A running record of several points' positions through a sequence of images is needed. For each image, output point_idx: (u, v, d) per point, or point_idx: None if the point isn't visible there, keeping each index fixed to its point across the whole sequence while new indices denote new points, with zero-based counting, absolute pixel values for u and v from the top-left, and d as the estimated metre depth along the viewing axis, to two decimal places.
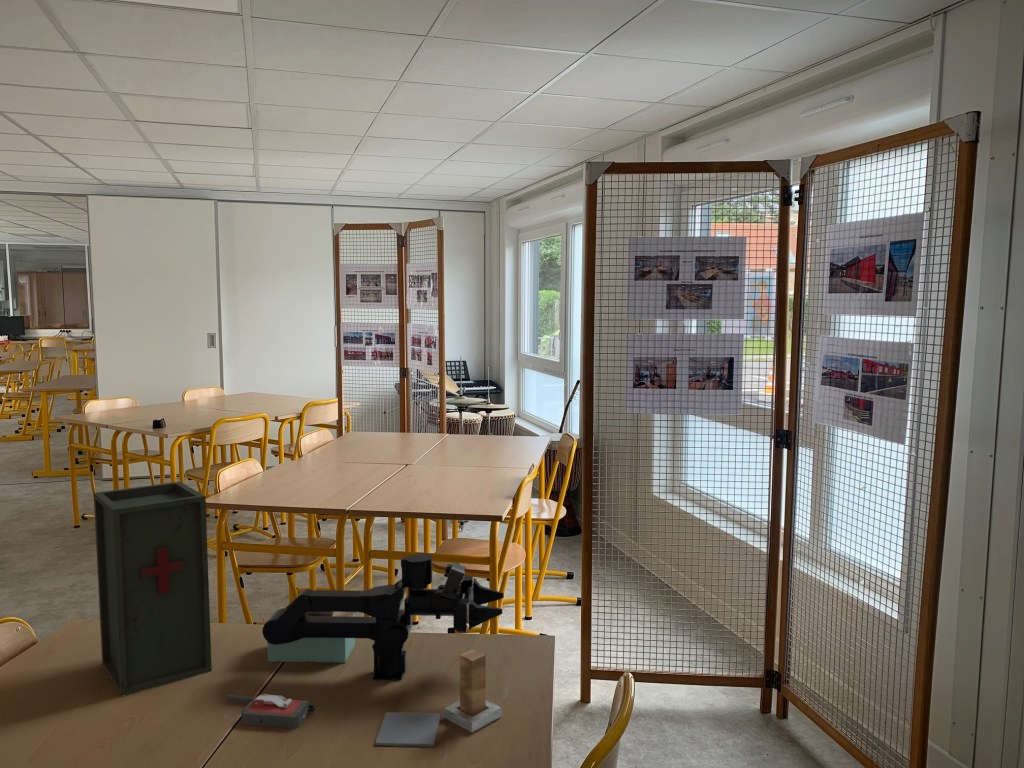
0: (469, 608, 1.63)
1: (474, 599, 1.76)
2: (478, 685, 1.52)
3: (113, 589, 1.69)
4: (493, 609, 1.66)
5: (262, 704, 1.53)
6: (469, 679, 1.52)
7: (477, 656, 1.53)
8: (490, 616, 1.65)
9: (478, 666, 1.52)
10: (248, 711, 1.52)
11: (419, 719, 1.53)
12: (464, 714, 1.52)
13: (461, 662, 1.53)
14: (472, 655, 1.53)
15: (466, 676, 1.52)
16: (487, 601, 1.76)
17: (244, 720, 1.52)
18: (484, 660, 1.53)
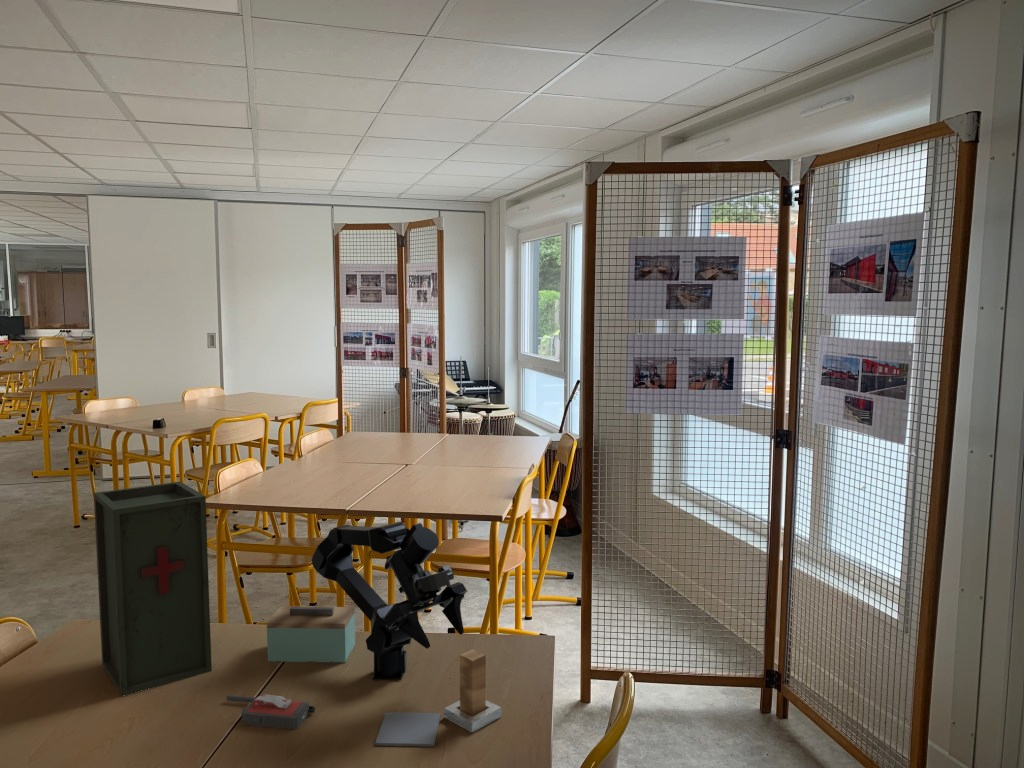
0: (404, 618, 1.55)
1: (446, 608, 1.66)
2: (478, 685, 1.52)
3: (113, 589, 1.69)
4: (423, 638, 1.55)
5: (262, 705, 1.53)
6: (469, 679, 1.52)
7: (477, 656, 1.53)
8: (418, 639, 1.56)
9: (478, 666, 1.52)
10: (248, 711, 1.52)
11: (419, 719, 1.53)
12: (464, 714, 1.52)
13: (461, 662, 1.53)
14: (472, 655, 1.53)
15: (466, 676, 1.52)
16: (450, 621, 1.64)
17: (244, 720, 1.52)
18: (484, 660, 1.53)
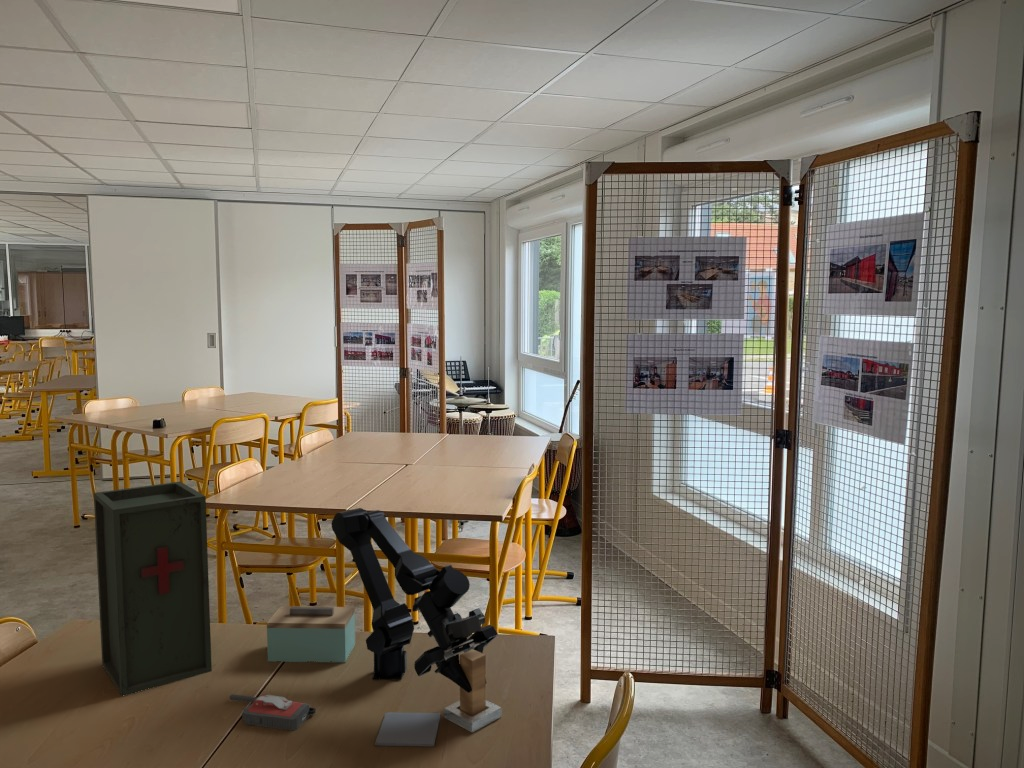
0: (445, 661, 1.51)
1: None
2: (478, 685, 1.52)
3: (113, 589, 1.69)
4: (465, 682, 1.52)
5: (263, 705, 1.53)
6: (469, 679, 1.52)
7: (477, 656, 1.53)
8: (459, 683, 1.52)
9: (478, 666, 1.52)
10: (248, 711, 1.52)
11: (419, 719, 1.53)
12: (464, 714, 1.52)
13: (461, 662, 1.53)
14: (472, 655, 1.53)
15: (466, 676, 1.52)
16: None
17: (244, 720, 1.52)
18: (484, 660, 1.53)
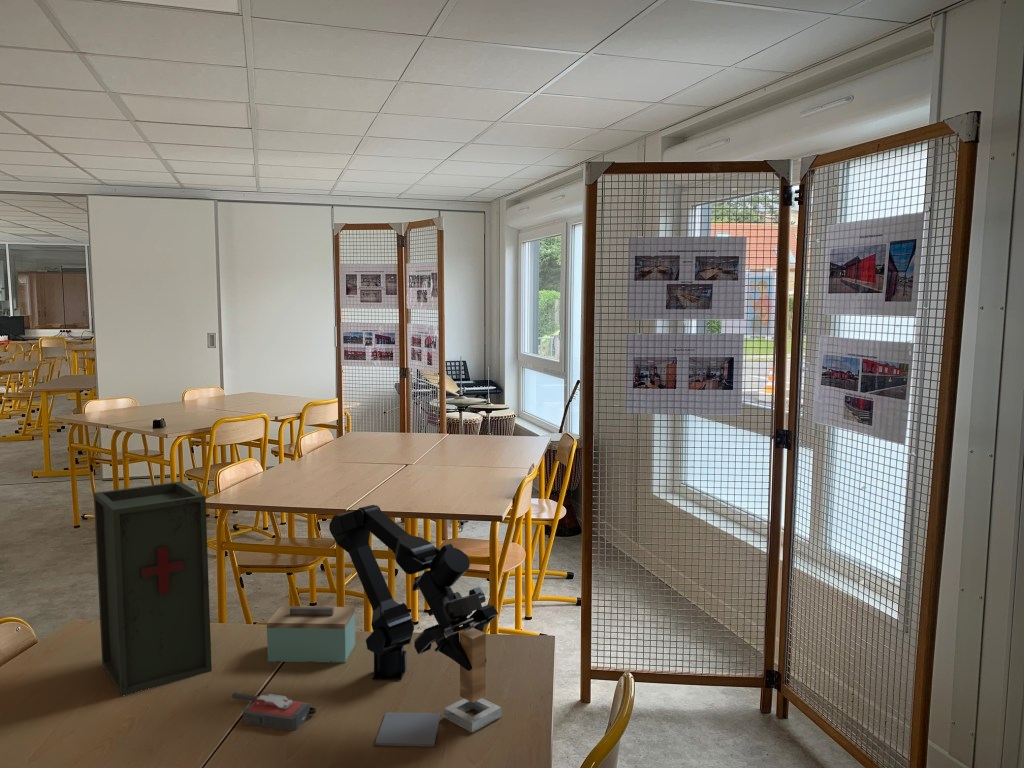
0: (445, 639, 1.50)
1: None
2: (478, 664, 1.52)
3: (113, 589, 1.69)
4: (465, 660, 1.51)
5: (263, 704, 1.53)
6: (469, 657, 1.51)
7: (478, 634, 1.52)
8: (459, 661, 1.52)
9: (478, 644, 1.52)
10: (249, 710, 1.52)
11: (419, 719, 1.53)
12: (464, 714, 1.52)
13: (461, 640, 1.53)
14: (473, 634, 1.52)
15: (466, 654, 1.52)
16: None
17: (245, 719, 1.52)
18: (484, 638, 1.53)
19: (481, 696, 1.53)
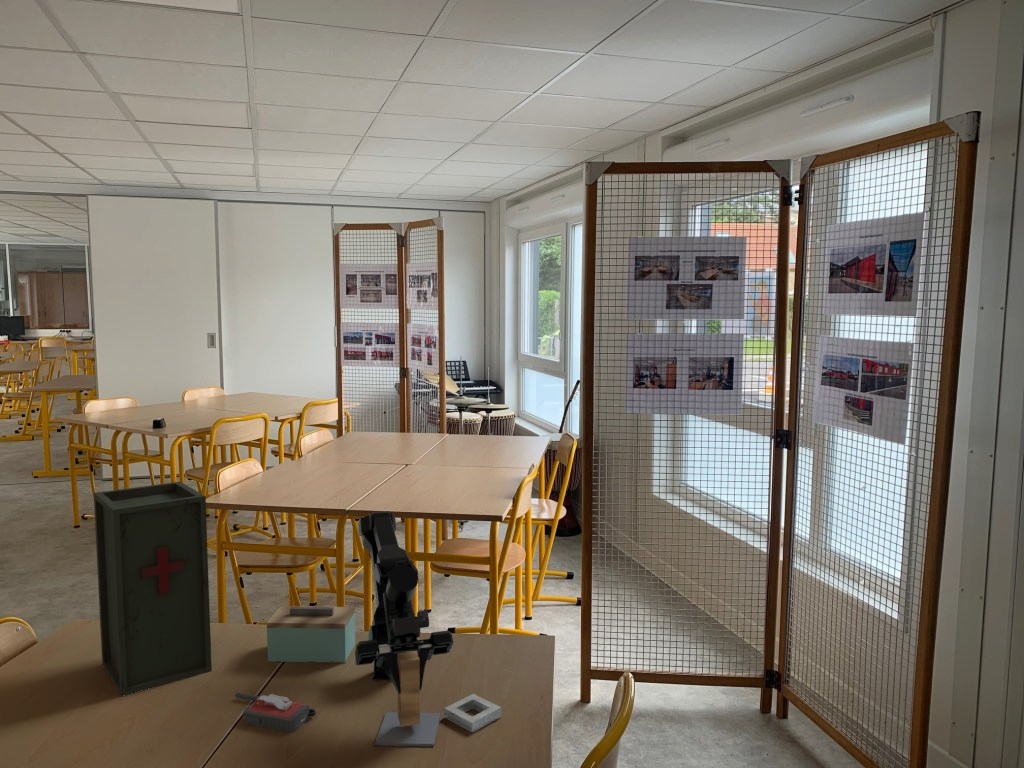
0: (378, 656, 1.49)
1: None
2: (408, 689, 1.47)
3: (113, 589, 1.69)
4: (395, 682, 1.48)
5: (263, 704, 1.53)
6: (400, 680, 1.47)
7: (410, 658, 1.47)
8: (392, 681, 1.49)
9: (409, 668, 1.47)
10: (249, 710, 1.52)
11: None
12: (464, 714, 1.52)
13: None
14: (407, 657, 1.48)
15: (399, 676, 1.48)
16: None
17: (245, 719, 1.52)
18: (417, 664, 1.47)
19: (413, 723, 1.48)
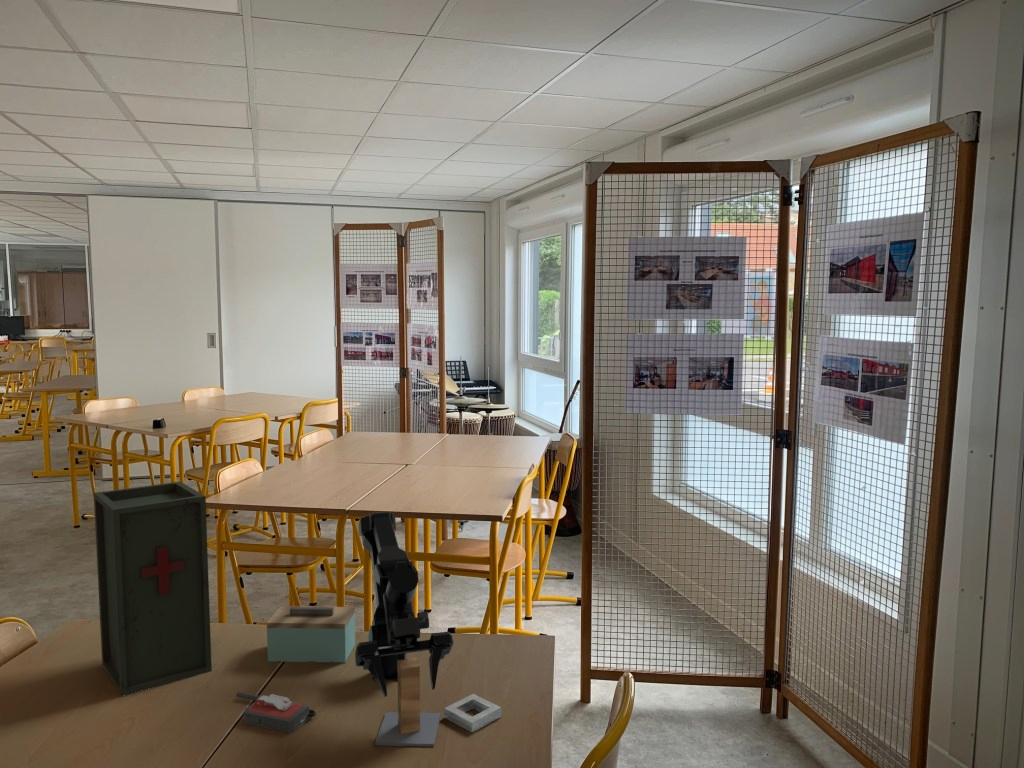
0: (364, 659, 1.48)
1: (430, 657, 1.54)
2: (409, 696, 1.47)
3: (113, 589, 1.69)
4: (382, 685, 1.47)
5: (263, 705, 1.53)
6: (400, 687, 1.47)
7: (410, 665, 1.47)
8: (379, 684, 1.48)
9: (409, 675, 1.47)
10: (249, 710, 1.52)
11: None
12: (464, 714, 1.52)
13: None
14: (407, 663, 1.48)
15: (399, 683, 1.48)
16: (430, 672, 1.52)
17: (245, 719, 1.52)
18: (418, 671, 1.47)
19: (414, 730, 1.48)
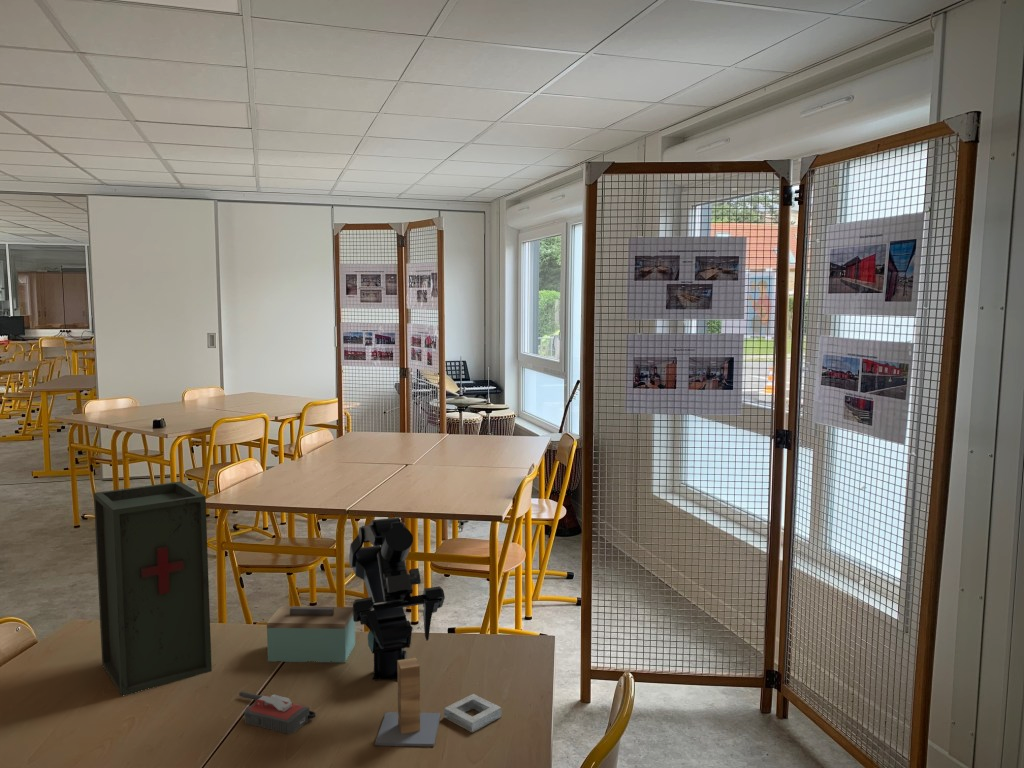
0: (361, 614, 1.57)
1: (423, 610, 1.63)
2: (409, 696, 1.47)
3: (113, 589, 1.69)
4: (378, 638, 1.56)
5: (264, 705, 1.53)
6: (400, 687, 1.47)
7: (410, 665, 1.47)
8: (375, 637, 1.57)
9: (409, 675, 1.47)
10: (249, 710, 1.52)
11: None
12: (464, 714, 1.52)
13: None
14: (407, 663, 1.48)
15: (399, 683, 1.48)
16: (424, 625, 1.61)
17: (245, 719, 1.52)
18: (418, 671, 1.47)
19: (414, 730, 1.48)
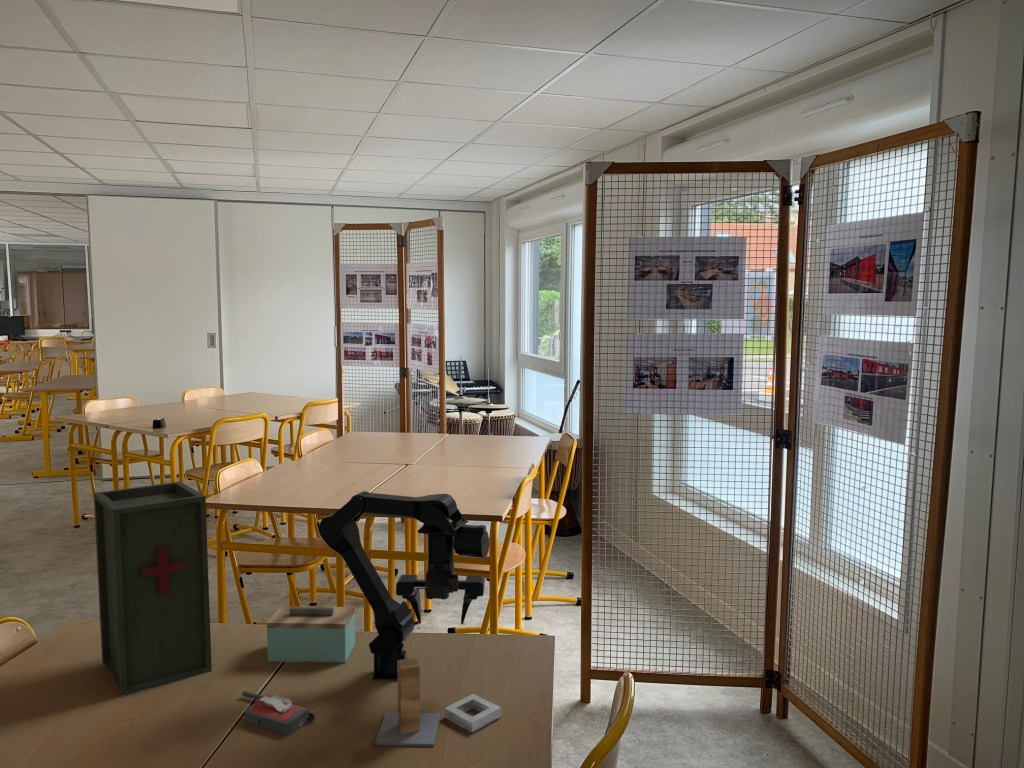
0: None
1: None
2: (409, 696, 1.47)
3: (113, 589, 1.69)
4: (416, 616, 1.68)
5: (264, 705, 1.53)
6: (400, 687, 1.47)
7: (410, 665, 1.47)
8: None
9: (409, 675, 1.47)
10: (249, 711, 1.52)
11: None
12: (464, 714, 1.52)
13: None
14: (407, 663, 1.48)
15: (399, 683, 1.48)
16: None
17: (245, 719, 1.52)
18: (418, 671, 1.47)
19: (414, 730, 1.48)
